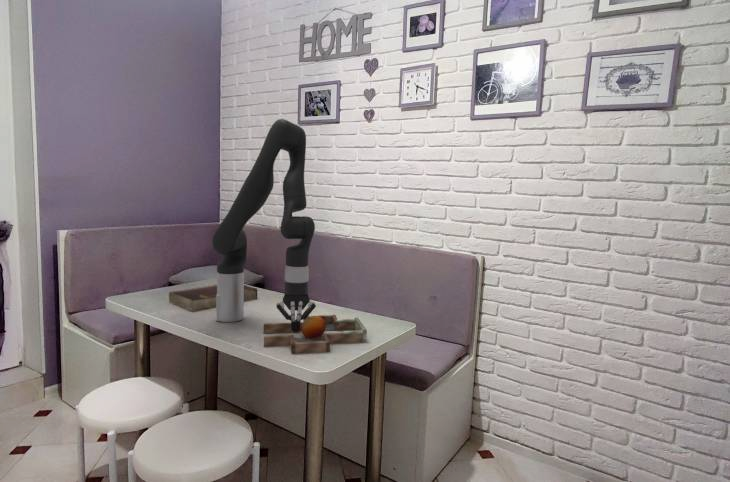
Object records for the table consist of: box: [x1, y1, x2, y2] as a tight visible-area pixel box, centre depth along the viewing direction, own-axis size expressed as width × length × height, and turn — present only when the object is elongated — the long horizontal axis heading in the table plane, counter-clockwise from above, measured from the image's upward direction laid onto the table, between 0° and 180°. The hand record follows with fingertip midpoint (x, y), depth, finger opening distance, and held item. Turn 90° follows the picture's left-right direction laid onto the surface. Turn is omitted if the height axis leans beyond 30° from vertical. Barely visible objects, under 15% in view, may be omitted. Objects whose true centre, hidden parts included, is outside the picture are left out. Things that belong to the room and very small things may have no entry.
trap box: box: [262, 314, 368, 355], centre depth 146 cm, size 32×27×4 cm
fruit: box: [301, 315, 326, 340], centre depth 146 cm, size 8×8×8 cm
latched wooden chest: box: [168, 284, 258, 313], centre depth 185 cm, size 29×19×5 cm, turn 139°
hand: (295, 331), depth 145 cm, fingers closed
